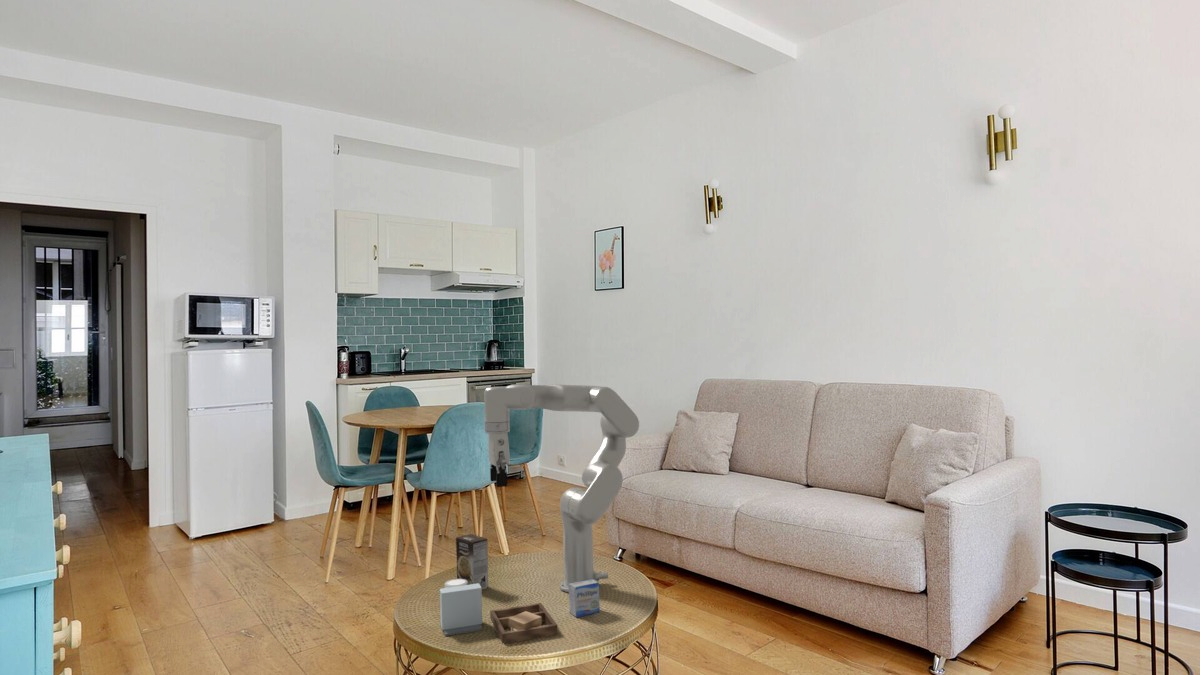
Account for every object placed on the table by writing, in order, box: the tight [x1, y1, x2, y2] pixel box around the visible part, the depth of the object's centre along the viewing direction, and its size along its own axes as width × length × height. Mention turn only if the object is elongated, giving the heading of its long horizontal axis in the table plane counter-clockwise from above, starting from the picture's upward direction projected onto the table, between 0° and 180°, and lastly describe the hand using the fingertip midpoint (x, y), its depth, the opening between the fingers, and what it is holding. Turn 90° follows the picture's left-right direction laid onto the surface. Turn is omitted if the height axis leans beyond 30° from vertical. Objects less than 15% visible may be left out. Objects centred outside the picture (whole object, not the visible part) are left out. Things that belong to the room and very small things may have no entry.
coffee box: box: [455, 533, 489, 590], centre depth 225 cm, size 9×6×16 cm
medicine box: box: [568, 579, 601, 618], centre depth 201 cm, size 8×4×9 cm, turn 117°
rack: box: [489, 602, 559, 644], centre depth 192 cm, size 15×18×2 cm
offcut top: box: [508, 611, 543, 630], centre depth 189 cm, size 6×6×2 cm
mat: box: [443, 624, 483, 637], centre depth 193 cm, size 10×10×1 cm
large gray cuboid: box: [439, 583, 483, 631], centre depth 193 cm, size 11×4×10 cm, turn 110°
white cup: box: [444, 578, 468, 588], centre depth 209 cm, size 7×7×7 cm
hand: (498, 483), depth 210 cm, fingers open, 9 cm apart
